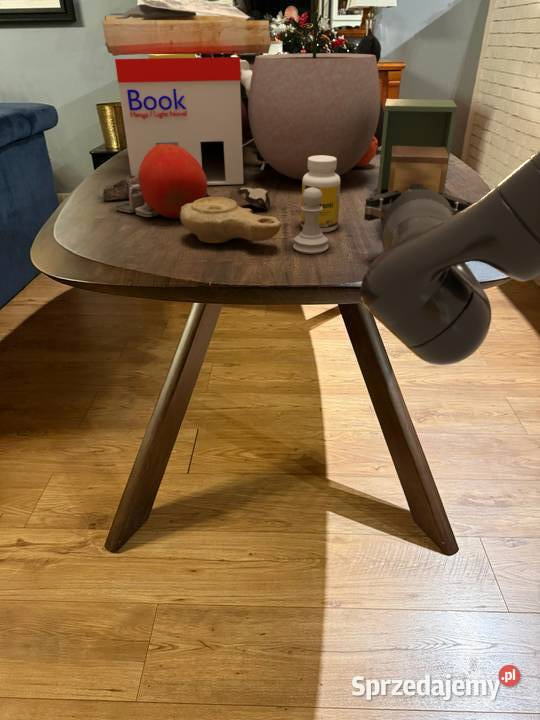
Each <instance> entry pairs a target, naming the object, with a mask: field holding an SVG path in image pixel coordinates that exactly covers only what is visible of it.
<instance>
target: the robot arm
mask: <svg viewBox="0 0 540 720" xmlns="http://www.w3.org/2000/svg"><path fill="white" fill-rule="evenodd" d="M390 200H391V203H390ZM363 219H364V220H365V221H367V222H371V221H375V220H379V221H380V223H381V224H382V225H383V234H382V239H381V244H382V245H381V246H382V249H383V252H382V253H381V254H379V255H378V256H377V257H376V258H375V259H374V260H373V261H372V262H371V263H370V265H369V266H368V267H367V269H366V271H365V273H364V274H363V277H362V280H361V283H360V290H359V295H360V300H361V303H362V304H363V306H364V308H365V309H366V310H367V312H369V314H371V316H373V317H374V318H375V319H376V320H377V321H378V322H379V323H381V325H383V326H384V327H385V328H386V330H388V331H389V332H390V333H391V334H392V335H393V336H394V337H395V338H397V339H398V341H399V342H401V343H402V344H403V345H404V346H405V347H406V348H407V349H408V350H409V351H410V352H412V353H413V355H414V356H416V357H417V358H418V359H420V360H422V361H423V362H425V363H428V364H431V365H433V366H434V365H436V366H449V365H454V364H458V363H460V362H462V361H464V360H466V359H468V358H469V357H471V356H472V355H473V354H475V353H476V351H478V349H479V348H480V347H481V346H482V345H483V343H484V342H485V340H486V338H487V336H488V333H489V331H490V329H491V323H492V305H491V303H490V299H489V296H488V295H487V293H486V292H485V290H484V288H483V286H482V285H481V283H480V281H479V280H478V279H477V277H476V276H475V274H474V273H473V271H472V269H471V268H470V267H469V265H468V264H467V263H470V262H479V263H482V264H485V265H488V266H489V267H492V268H494V269H495V270H497V271H498V272H500V273H502V274H503V275H505V276H507V277H508V278H510V279H512V280H514V281H518V282H523V283H524V282H525V283H526V282H531V281H533V280H535V279H538V278H539V277H540V148H539V149H538V150H537V151H536V152H535V153H534V154H532V155H531V156H530V157H529V158H528V159H526V160H525V161H523V163H522V164H521V165H519V166H518V167H517V168H516V169H514V170H513V171H512V172H511V173H510V174H509V175H507V176H506V177H505V178H504V179H503V180H501V182H499V183H498V184H497V186H495V187H493V188H492V189H491V190H490V191H488V192H487V193H486V194H485V195H484V196H482V197H481V198H480V199H478V200H477V201H475V202H472V201H468V200H465V199H462V198H459V197H456V196H454V195H451V194H448V193H446V192H444V193H443V192H438V193H437V192H435V191H432V190H428V189H427V188H423V184H412V185H411V187H407V188H406V191H405V193H404V194H401V191H399V190H395V191H390V192H388V191H387V192H384V193H381V194H380V195H377V194H376V195H373V196H369V197H367V198H365V205H364V217H363Z"/></svg>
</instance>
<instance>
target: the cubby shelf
mask: <svg viewBox="0 0 540 720" xmlns="http://www.w3.org/2000/svg"><path fill="white" fill-rule="evenodd" d="M457 110H458V106H457V104H456V103H455V101H454V100H453V99H417V98H415V99H412V98H411V99H410V98H409V99H407V98H405V99H404V98H403V99H402V98H386V100H385V104H384V123H383V134H382V145H381V146H380V157H379V167H378V177H377V189H376V195H380V194H382V190H386V191H388V187H389V177H390V167H391V155H392V146H419V147H445V149H446V151H447V154H448V157H449V158H450V157H451V150H452V143H453V137H454V129H455V124H456V118H457ZM449 161H450V159H449V160H448V164H447V170H446V176H445V183H444V189H443V193H445V188H446V181H447V175H448V168H449Z"/></svg>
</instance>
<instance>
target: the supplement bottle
mask: <svg viewBox="0 0 540 720" xmlns="http://www.w3.org/2000/svg"><path fill="white" fill-rule="evenodd" d="M336 166H337V158H335V157H333V156H325V155H318V156H311V157H309V158H308V169H309V173H307V174H305V175H304V177H303V180H301V182H302V184H301V207H302V206H305V205H306V204H305V203H304V201H303V192H304V191H305V190H306V189H307V188H311V187H314V188H318V189H319V190H320V191H321V193H322V200H321V202H320V203H319V204H318V205H319V206H321V207H323V209H322V210H321V211H320V212H319V221H318V224H319V228H320V231H321V232H322V233H329V232H332V231H335V230H336V229H337V228H338V225H339V210H340V198H341V197H340V196H341V177H340V175H337V174H336V173H335V172H334V170H336ZM300 210H301V212H300V213H301V215H300V226H301V228H303V227H304V224H305V217H304V211H303V210H302V209H301V208H300Z"/></svg>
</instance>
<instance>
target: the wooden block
mask: <svg viewBox="0 0 540 720" xmlns="http://www.w3.org/2000/svg"><path fill="white" fill-rule="evenodd" d="M122 16H123V15H105V16H104V19H102V25H103V26H102V27H103V29H102V30H103V37H104V39H105V44H104V46H105V47H106V51H107V53H108V54H111V55H112V56H113V57H117V56H132V55H133V56H134V55H135V56H136V55H152V54H195V55H201V54H213V55H233V54H234V55H237V54H260V55H263V54H269V52H270V48H271V46H272V45H271V44H272V39H271V33H270V29H271V28H270V21H269V20H248V19H244V18H236V17H228V16H220V15H196V16H185V17H160V18H133V17H129V18H126V19H117V18H116V17H122Z"/></svg>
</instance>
